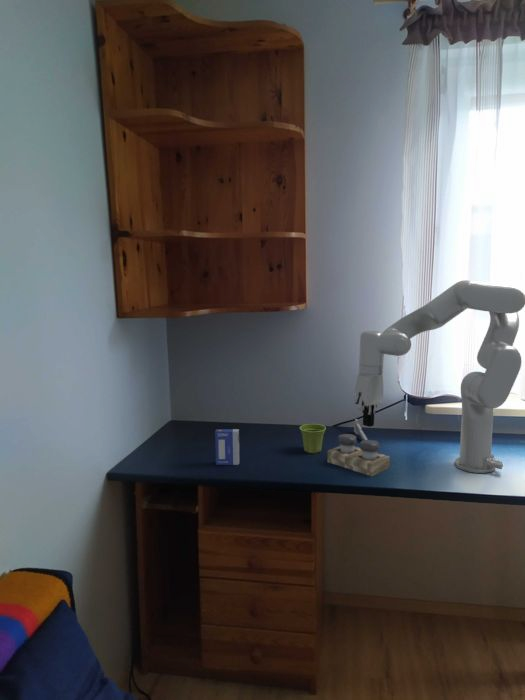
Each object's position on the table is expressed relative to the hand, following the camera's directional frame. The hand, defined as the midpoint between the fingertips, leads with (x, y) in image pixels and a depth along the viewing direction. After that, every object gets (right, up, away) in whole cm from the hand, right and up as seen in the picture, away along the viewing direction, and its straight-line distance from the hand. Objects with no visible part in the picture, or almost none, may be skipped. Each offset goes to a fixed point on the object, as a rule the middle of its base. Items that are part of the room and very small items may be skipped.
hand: (368, 425), depth 173 cm
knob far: (-5, -11, +8) cm, 15 cm away
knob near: (+1, -12, +2) cm, 12 cm away
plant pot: (-16, -12, +20) cm, 28 cm away
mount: (-2, -14, +5) cm, 15 cm away
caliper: (+4, -11, +31) cm, 33 cm away
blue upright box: (-46, -14, +8) cm, 49 cm away
